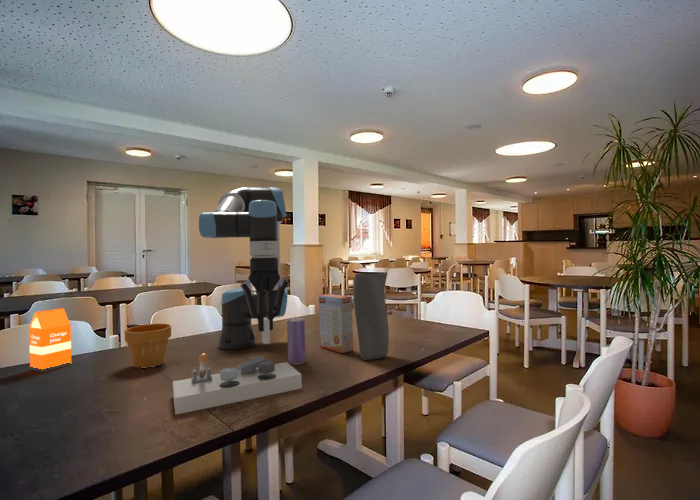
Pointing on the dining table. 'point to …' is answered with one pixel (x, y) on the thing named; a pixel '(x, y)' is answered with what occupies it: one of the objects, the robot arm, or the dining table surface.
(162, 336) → the flower pot
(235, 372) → the button
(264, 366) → the button
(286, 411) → the dining table surface
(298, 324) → the beverage can
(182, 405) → the console
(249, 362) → the block
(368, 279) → the vase
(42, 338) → the orange juice
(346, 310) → the cracker box
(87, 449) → the dining table surface
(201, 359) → the lever
